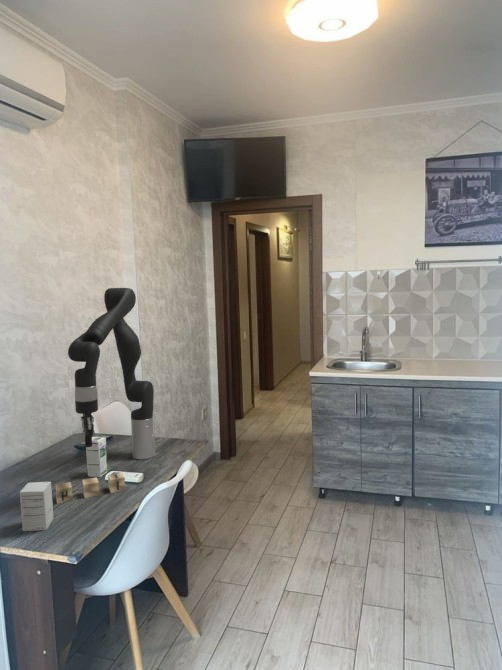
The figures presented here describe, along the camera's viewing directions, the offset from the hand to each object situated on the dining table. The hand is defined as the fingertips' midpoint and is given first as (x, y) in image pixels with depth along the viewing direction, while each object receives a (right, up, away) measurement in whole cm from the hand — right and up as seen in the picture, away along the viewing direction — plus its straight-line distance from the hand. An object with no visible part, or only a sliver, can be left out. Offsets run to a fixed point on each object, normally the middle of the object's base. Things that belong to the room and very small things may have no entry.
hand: (88, 446), depth 172 cm
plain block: (0, -18, +2) cm, 18 cm away
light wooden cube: (-8, -18, -2) cm, 20 cm away
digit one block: (+8, -17, +6) cm, 20 cm away
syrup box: (-3, -16, +20) cm, 26 cm away
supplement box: (-9, -20, -20) cm, 30 cm away
